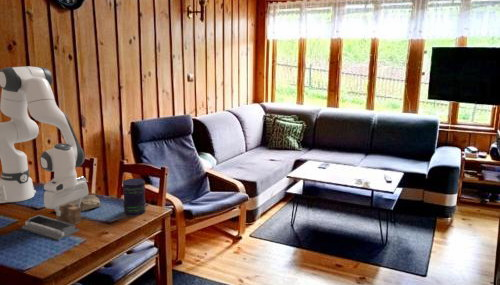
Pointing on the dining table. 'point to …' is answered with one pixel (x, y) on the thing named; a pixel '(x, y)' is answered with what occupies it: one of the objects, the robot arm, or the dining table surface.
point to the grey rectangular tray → (49, 227)
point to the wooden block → (70, 214)
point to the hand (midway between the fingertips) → (68, 211)
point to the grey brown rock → (87, 202)
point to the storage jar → (134, 196)
